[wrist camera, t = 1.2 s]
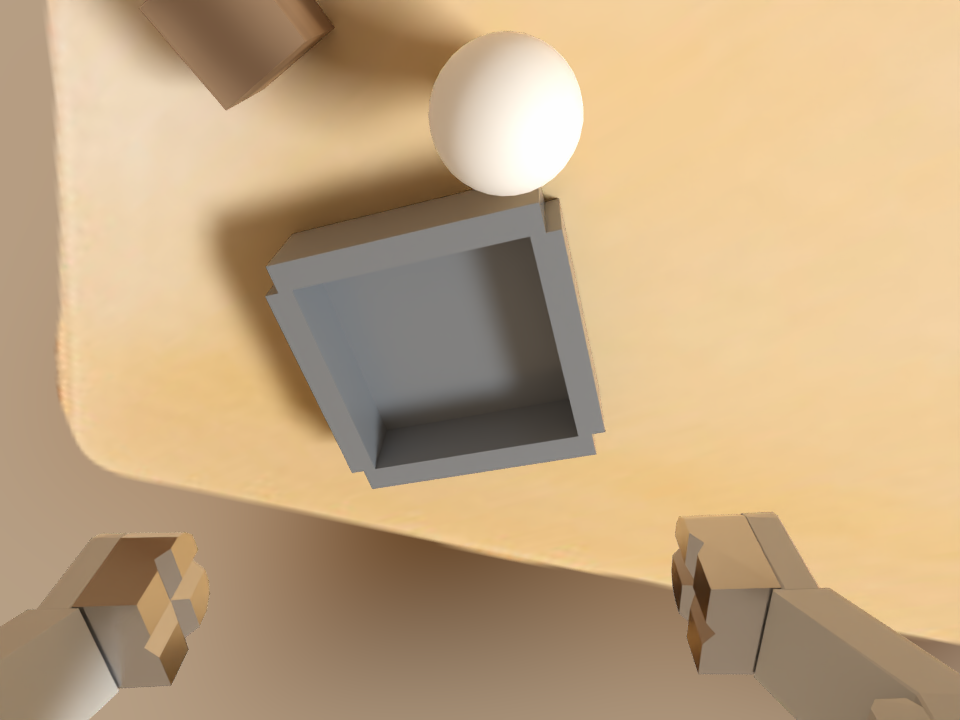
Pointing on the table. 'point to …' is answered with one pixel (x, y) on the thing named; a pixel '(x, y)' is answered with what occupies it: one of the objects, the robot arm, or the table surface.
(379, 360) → the gray square tray
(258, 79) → the walnut block
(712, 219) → the table surface
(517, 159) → the lightbulb
